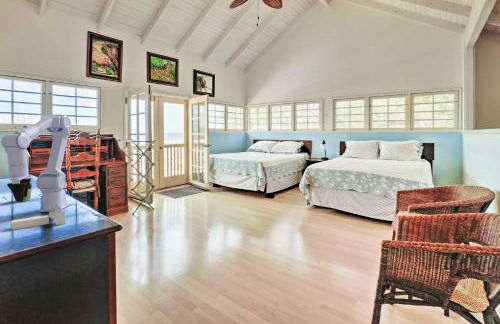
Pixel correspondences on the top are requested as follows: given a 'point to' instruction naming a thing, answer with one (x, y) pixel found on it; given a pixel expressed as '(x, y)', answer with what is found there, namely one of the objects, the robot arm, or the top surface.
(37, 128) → the robot arm
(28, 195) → the beverage can
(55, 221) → the housing
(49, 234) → the top surface
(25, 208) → the top surface
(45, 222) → the rod
